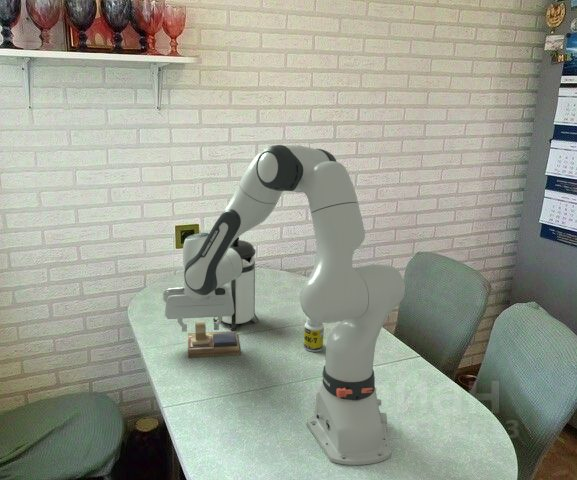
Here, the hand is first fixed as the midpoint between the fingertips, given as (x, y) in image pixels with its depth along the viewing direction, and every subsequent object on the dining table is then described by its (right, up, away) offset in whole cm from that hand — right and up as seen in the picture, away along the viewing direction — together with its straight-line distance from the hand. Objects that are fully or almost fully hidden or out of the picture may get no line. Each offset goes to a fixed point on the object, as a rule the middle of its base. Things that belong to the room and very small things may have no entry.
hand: (200, 330), depth 169 cm
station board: (+3, -5, +2) cm, 7 cm away
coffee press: (+8, 0, +20) cm, 21 cm away
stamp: (0, -4, +2) cm, 4 cm away
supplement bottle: (+34, -6, +3) cm, 35 cm away
